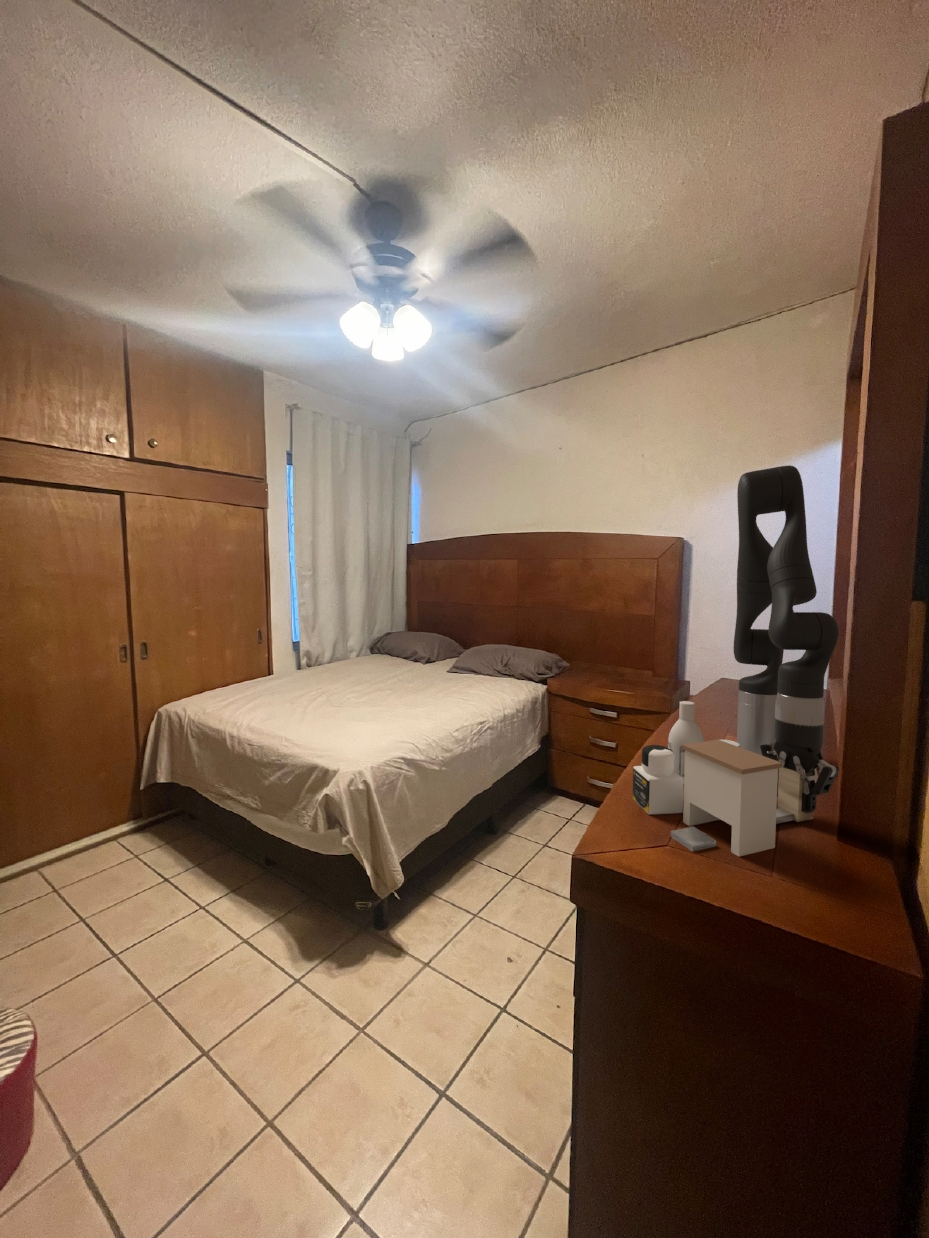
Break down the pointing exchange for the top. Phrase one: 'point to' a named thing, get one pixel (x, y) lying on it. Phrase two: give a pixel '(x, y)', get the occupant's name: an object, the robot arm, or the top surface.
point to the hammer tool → (790, 797)
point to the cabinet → (732, 792)
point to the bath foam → (684, 736)
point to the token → (693, 838)
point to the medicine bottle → (658, 782)
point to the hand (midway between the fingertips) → (795, 805)
